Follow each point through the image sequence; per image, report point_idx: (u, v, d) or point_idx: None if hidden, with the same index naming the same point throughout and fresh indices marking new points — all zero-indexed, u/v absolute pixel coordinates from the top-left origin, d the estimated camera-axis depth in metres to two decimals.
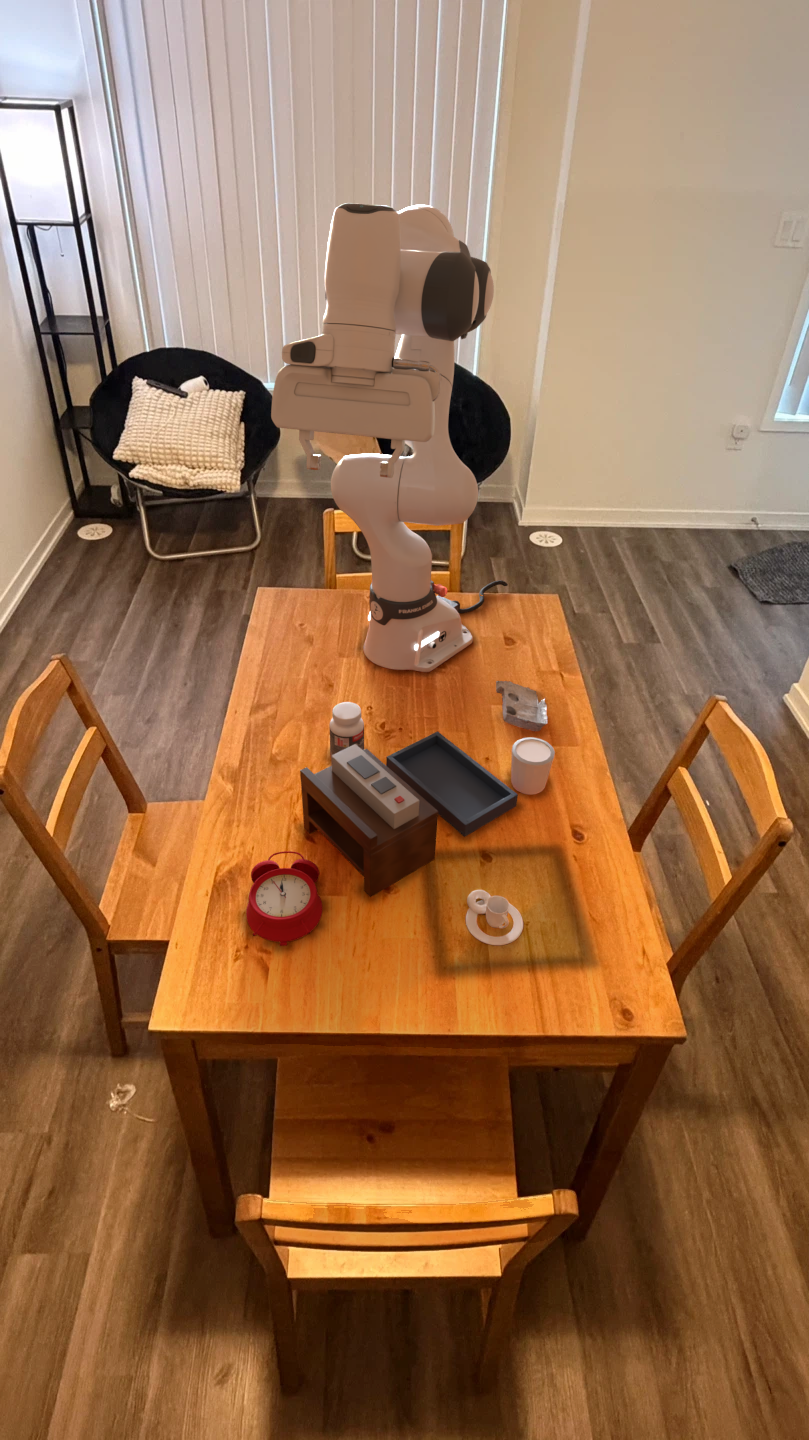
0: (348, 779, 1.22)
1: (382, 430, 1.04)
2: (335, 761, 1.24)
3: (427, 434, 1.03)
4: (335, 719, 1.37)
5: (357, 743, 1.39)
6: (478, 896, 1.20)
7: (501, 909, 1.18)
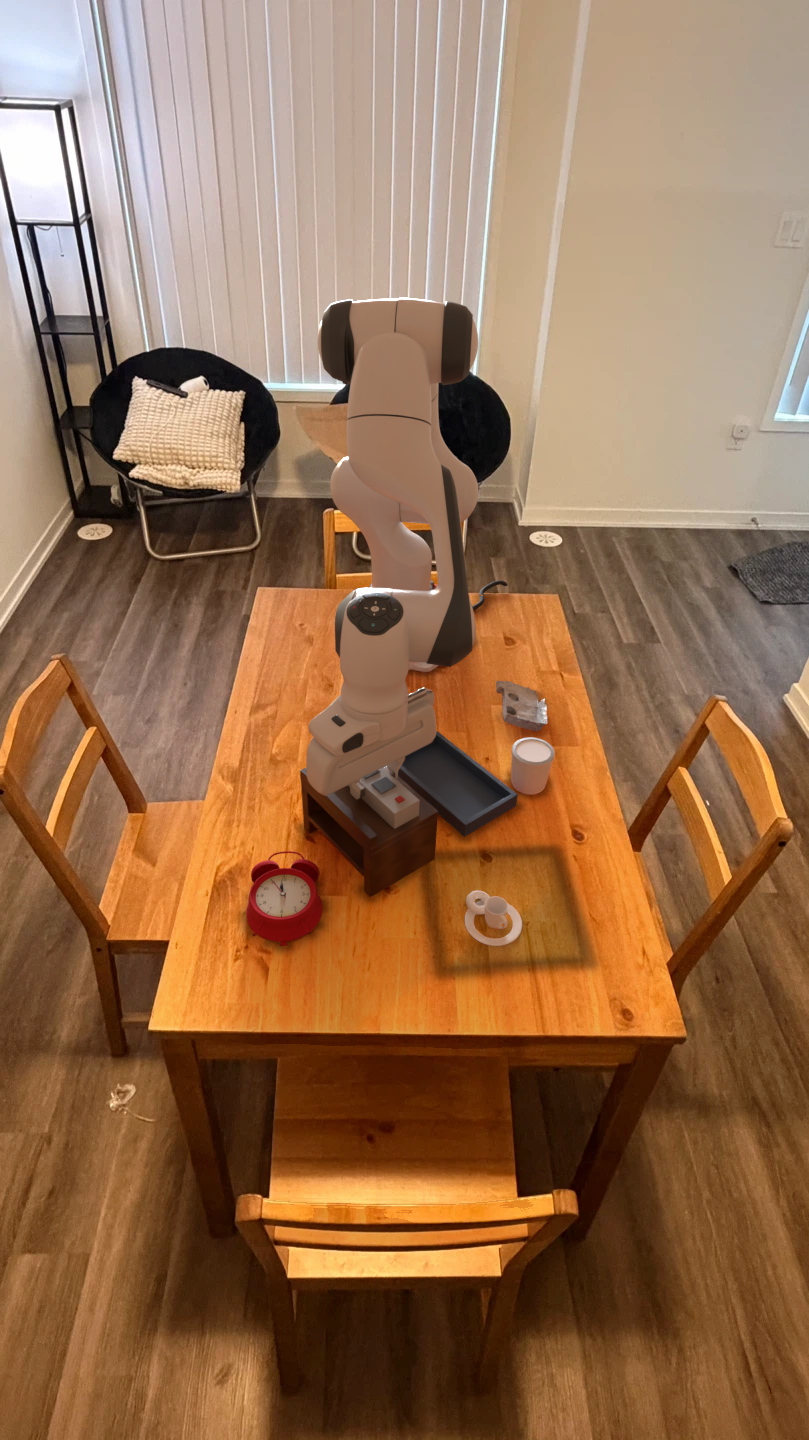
0: None
1: (405, 753, 1.19)
2: None
3: (434, 737, 1.22)
4: None
5: None
6: (477, 897, 1.20)
7: (500, 910, 1.17)
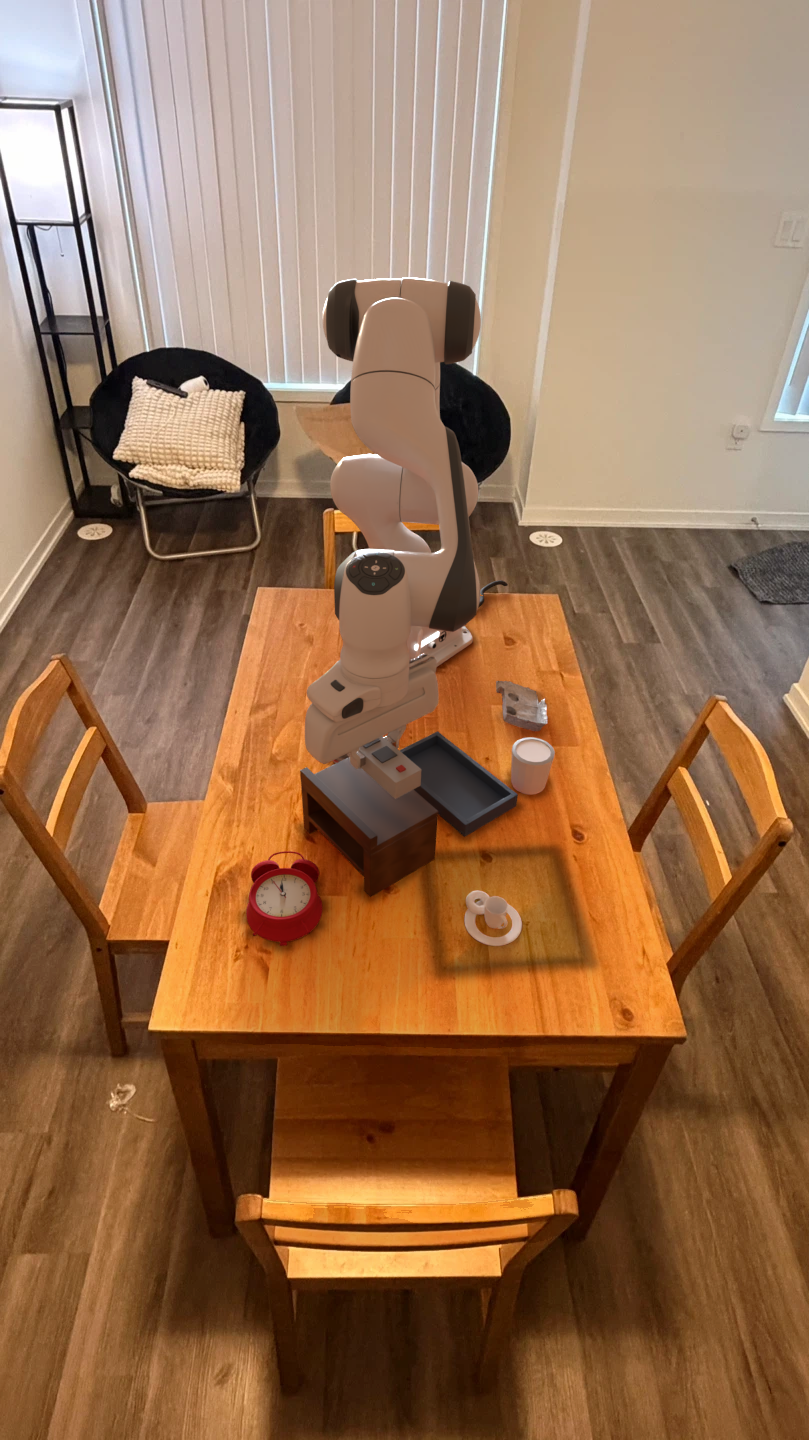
0: None
1: (406, 721, 1.16)
2: None
3: (436, 705, 1.19)
4: None
5: None
6: (477, 897, 1.20)
7: (500, 910, 1.17)
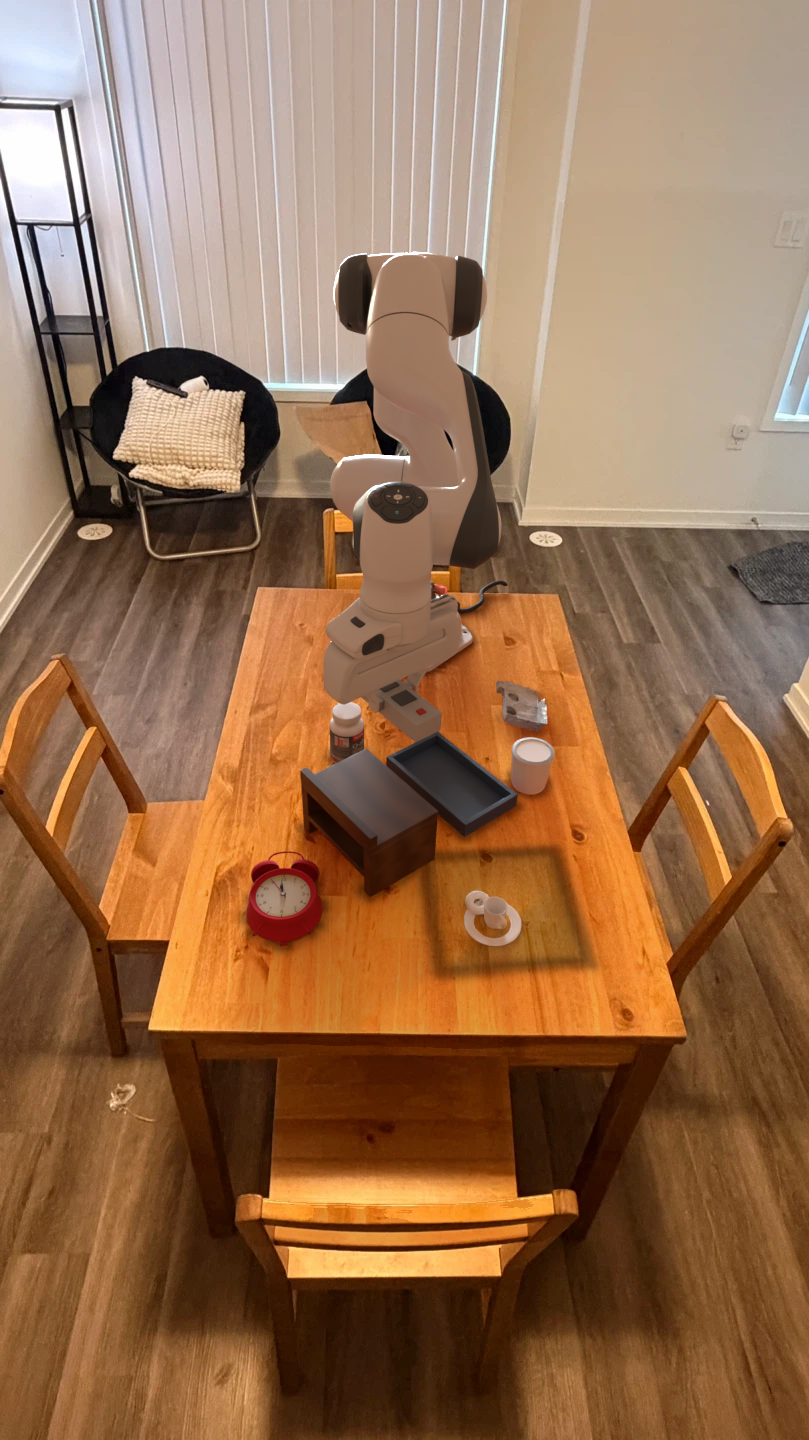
0: None
1: (426, 664, 1.13)
2: None
3: (457, 649, 1.16)
4: (335, 719, 1.37)
5: (357, 743, 1.39)
6: (476, 897, 1.19)
7: (499, 910, 1.17)
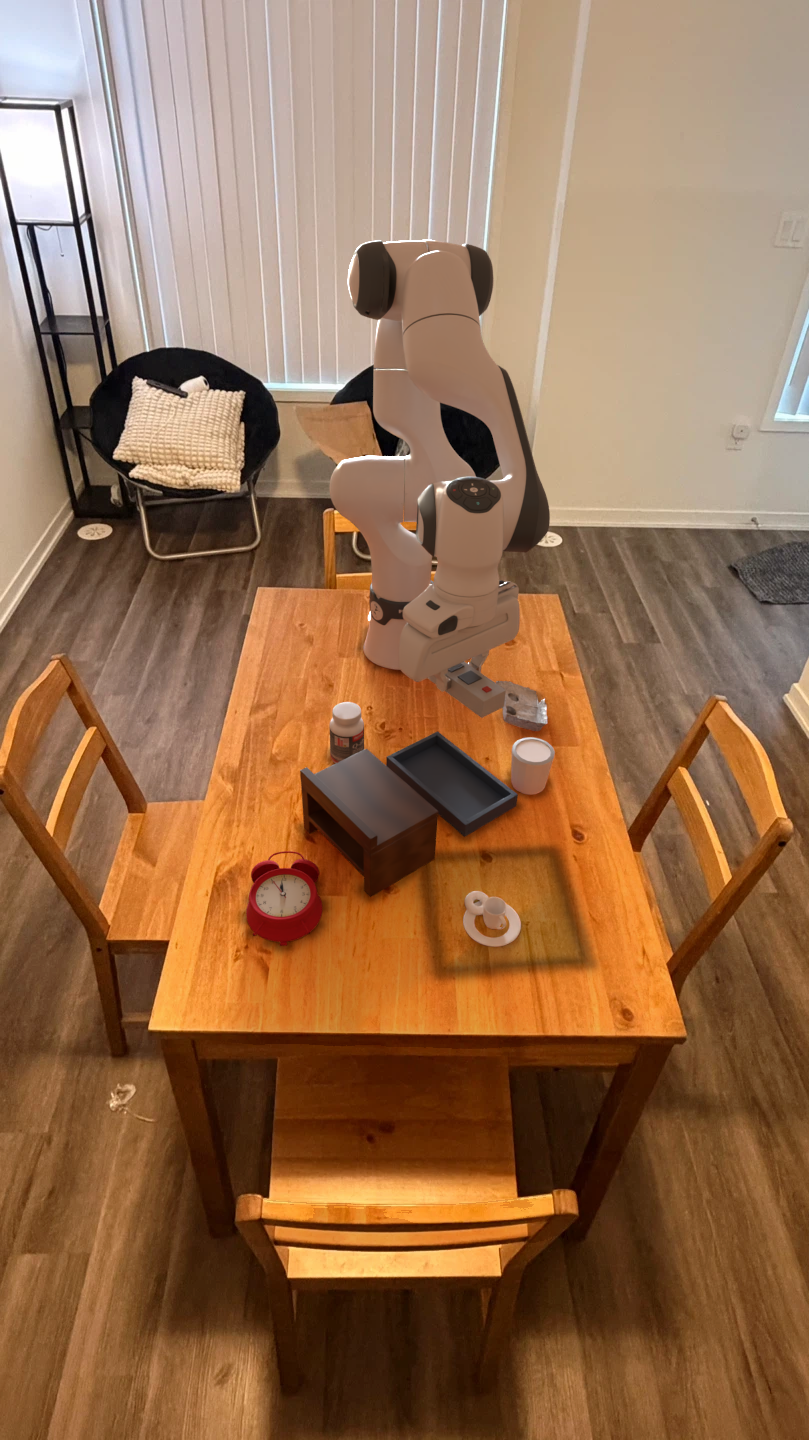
0: None
1: (490, 646, 1.23)
2: None
3: None
4: (335, 719, 1.37)
5: (357, 743, 1.39)
6: (475, 897, 1.19)
7: (499, 910, 1.17)
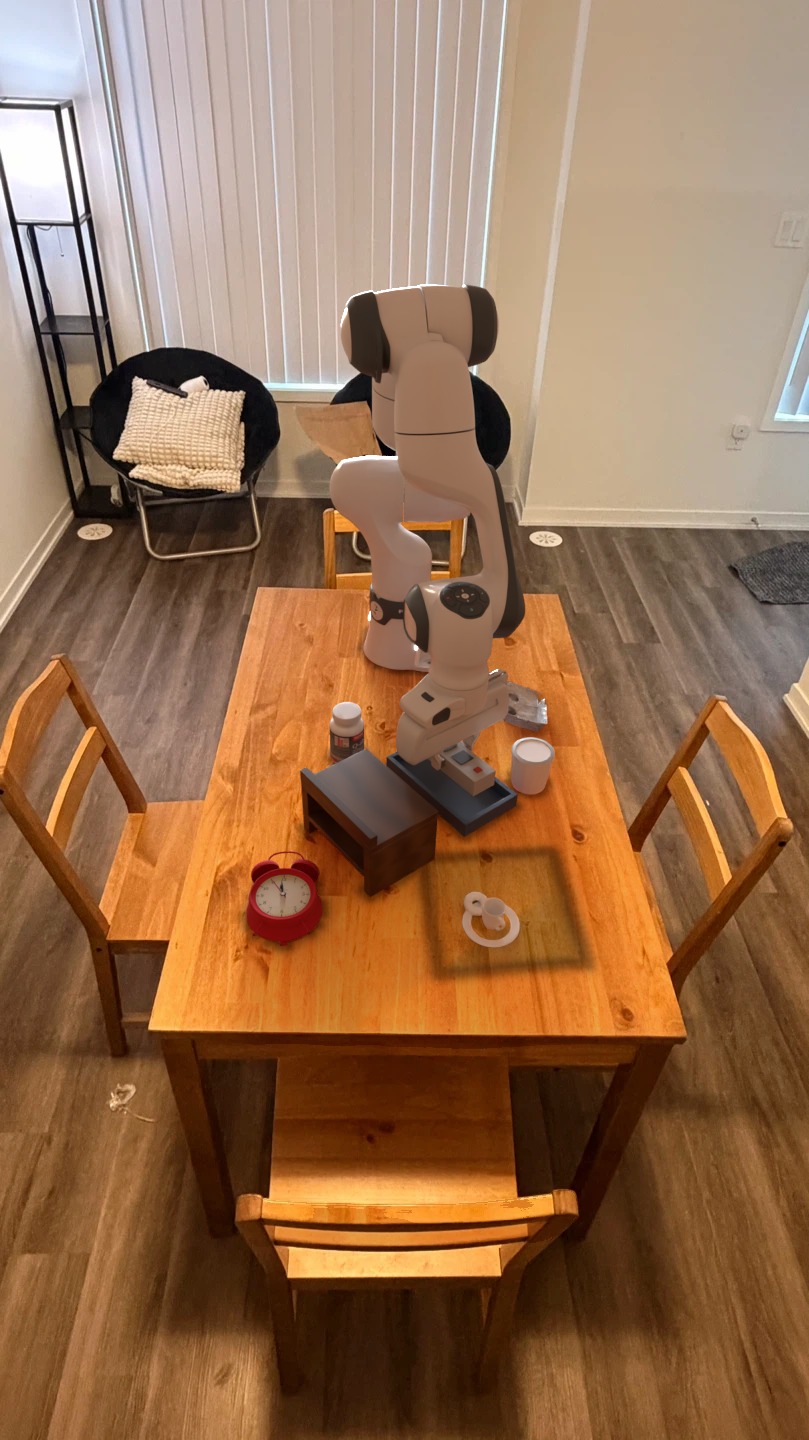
0: None
1: (481, 728, 1.32)
2: None
3: (506, 714, 1.35)
4: (335, 719, 1.37)
5: (357, 743, 1.39)
6: (474, 898, 1.19)
7: (498, 911, 1.17)
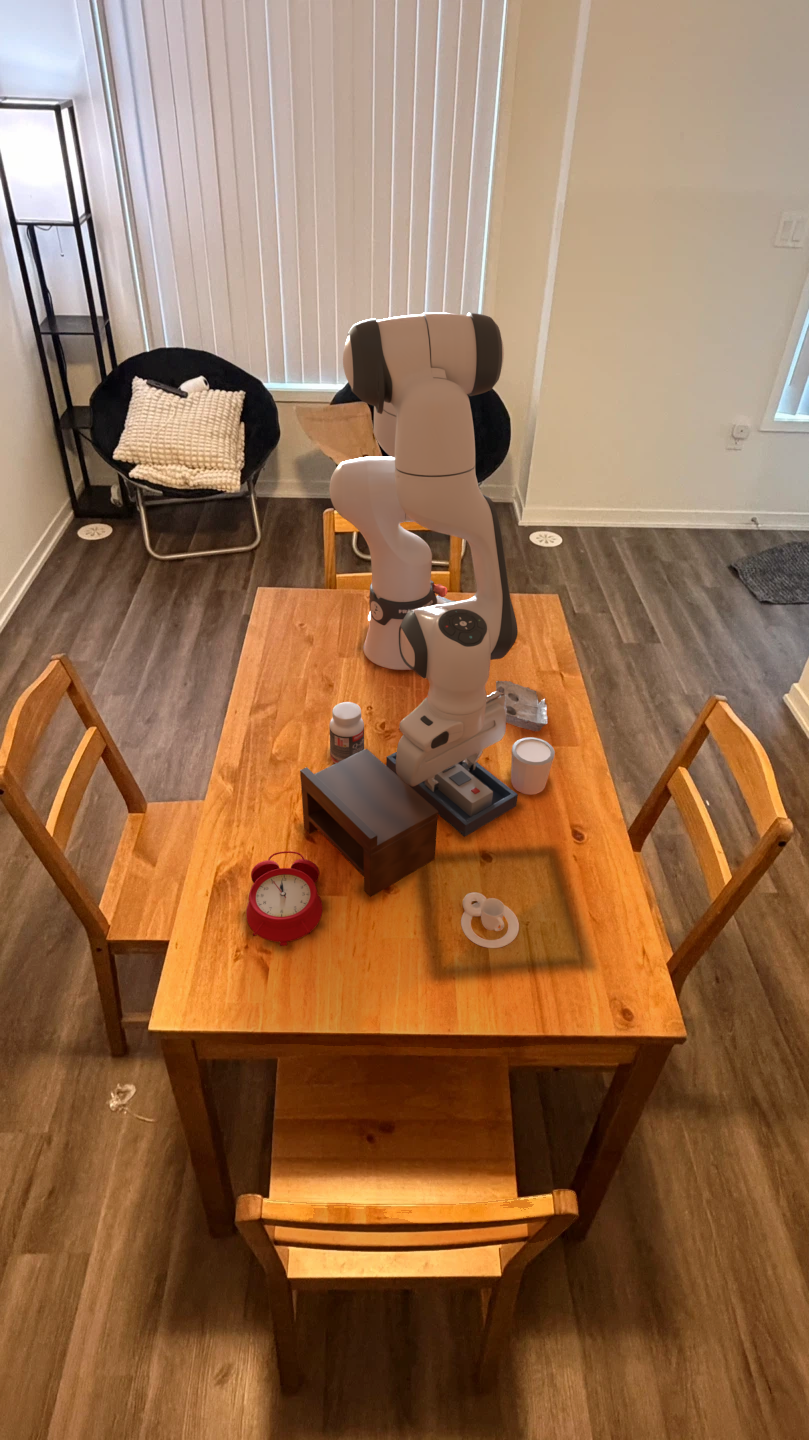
0: None
1: (479, 749, 1.35)
2: None
3: None
4: (335, 719, 1.37)
5: (357, 743, 1.39)
6: (473, 899, 1.19)
7: (496, 911, 1.17)
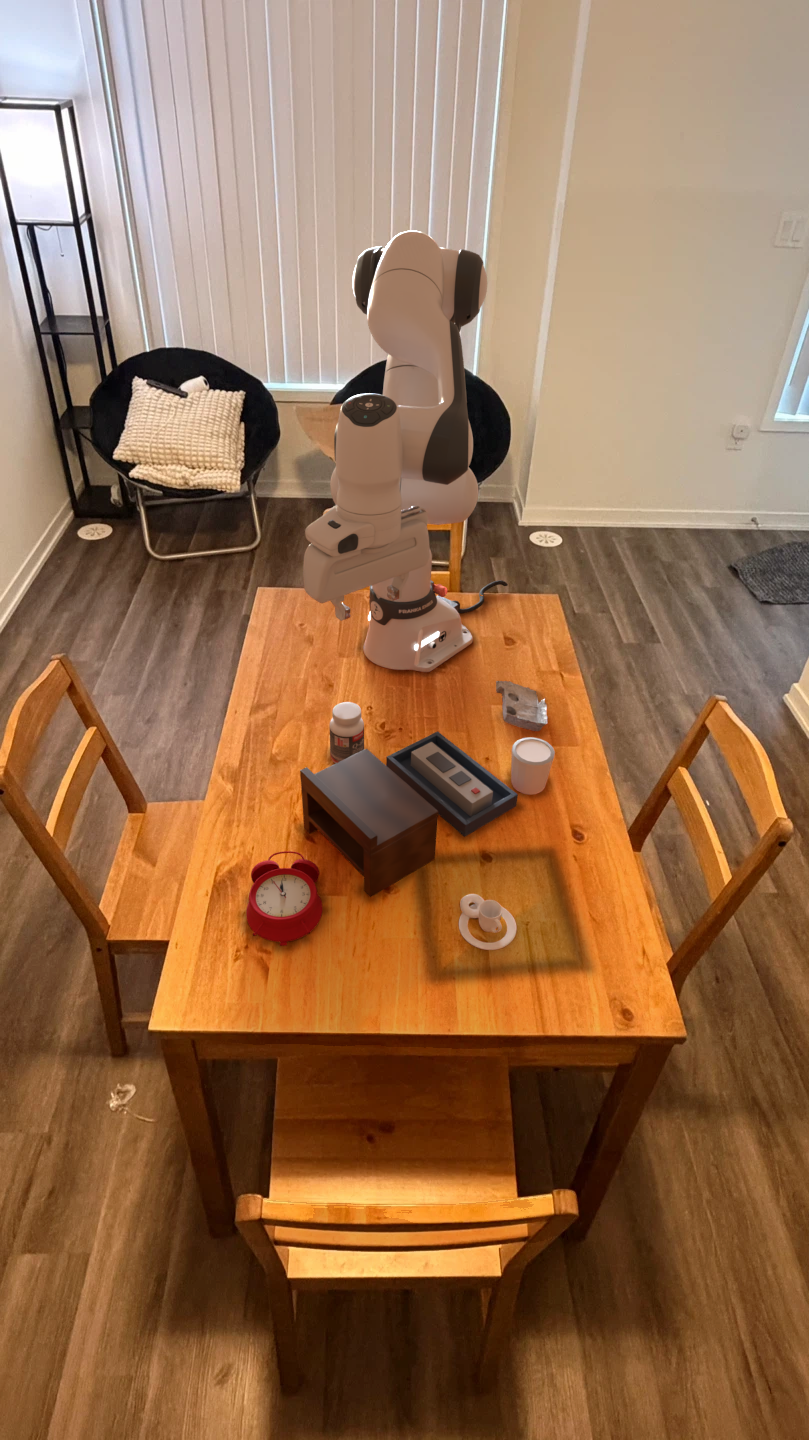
0: (427, 772, 1.38)
1: (399, 571, 1.23)
2: (415, 757, 1.39)
3: (428, 560, 1.26)
4: (335, 719, 1.37)
5: (357, 743, 1.39)
6: (471, 900, 1.19)
7: (494, 913, 1.17)
